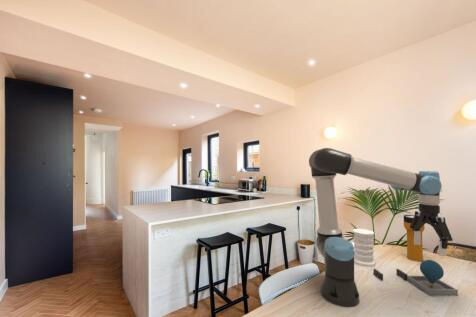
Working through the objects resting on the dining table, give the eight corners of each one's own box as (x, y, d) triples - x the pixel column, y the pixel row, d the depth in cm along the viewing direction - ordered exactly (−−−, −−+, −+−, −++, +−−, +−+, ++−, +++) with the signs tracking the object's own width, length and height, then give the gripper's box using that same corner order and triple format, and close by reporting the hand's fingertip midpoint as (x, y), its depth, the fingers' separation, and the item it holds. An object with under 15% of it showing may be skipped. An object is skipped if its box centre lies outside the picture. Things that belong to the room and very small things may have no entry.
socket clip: (380, 280, 110) (380, 274, 110) (373, 274, 116) (373, 268, 116) (407, 280, 110) (407, 274, 110) (398, 274, 116) (398, 268, 116)
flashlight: (404, 216, 135) (402, 213, 144) (405, 259, 134) (403, 254, 143) (425, 218, 130) (422, 215, 138) (426, 263, 129) (423, 257, 138)
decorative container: (354, 264, 127) (353, 233, 128) (351, 257, 138) (350, 227, 139) (377, 268, 123) (377, 235, 124) (372, 259, 134) (372, 229, 135)
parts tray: (429, 295, 97) (428, 289, 97) (406, 280, 110) (406, 275, 110) (457, 295, 97) (457, 289, 97) (432, 280, 110) (432, 275, 110)
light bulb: (448, 293, 98) (448, 265, 98) (426, 290, 100) (426, 263, 100) (435, 283, 106) (435, 257, 107) (415, 281, 108) (415, 256, 108)
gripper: (464, 209, 92) (464, 261, 92) (415, 199, 117) (415, 240, 116) (446, 208, 92) (446, 260, 92) (401, 199, 117) (401, 240, 116)
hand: (429, 249), depth 104 cm, fingers open, 13 cm apart
